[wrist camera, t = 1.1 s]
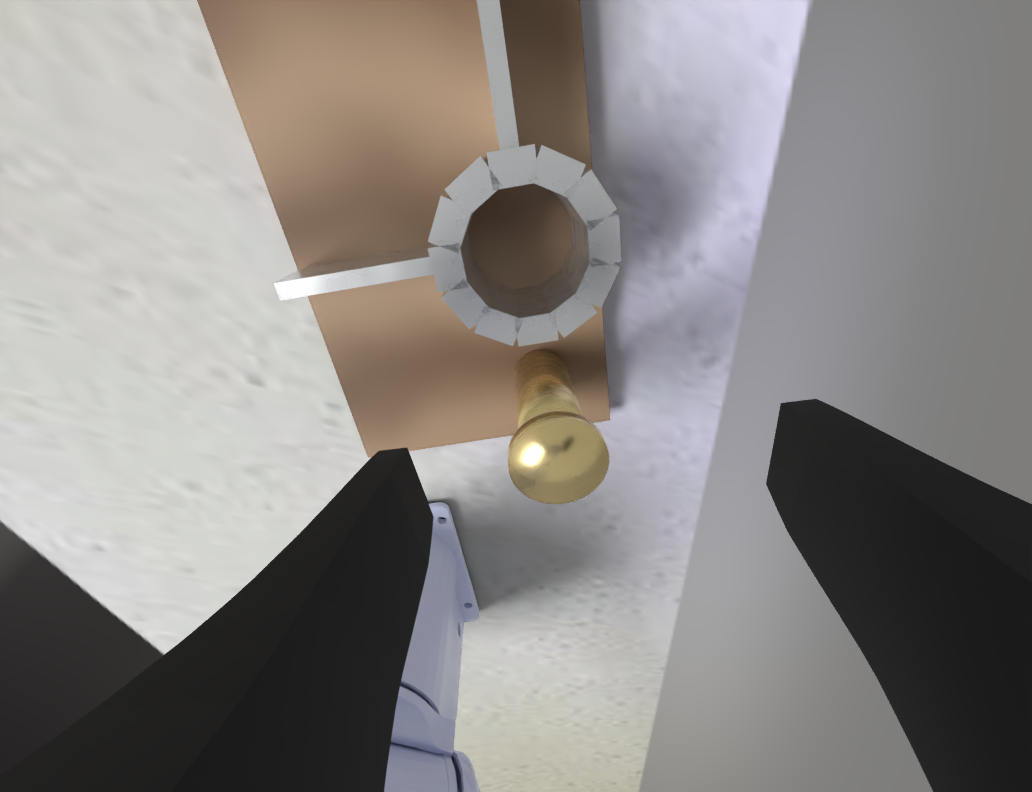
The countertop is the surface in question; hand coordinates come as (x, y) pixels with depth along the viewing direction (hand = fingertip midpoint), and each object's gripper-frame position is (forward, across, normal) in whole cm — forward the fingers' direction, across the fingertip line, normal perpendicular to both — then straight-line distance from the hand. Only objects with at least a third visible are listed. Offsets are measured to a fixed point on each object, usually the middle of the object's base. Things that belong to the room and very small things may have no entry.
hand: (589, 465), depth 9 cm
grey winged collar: (+12, +4, -5) cm, 13 cm away
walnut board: (+12, +4, -3) cm, 13 cm away
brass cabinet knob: (+11, +1, +4) cm, 12 cm away
